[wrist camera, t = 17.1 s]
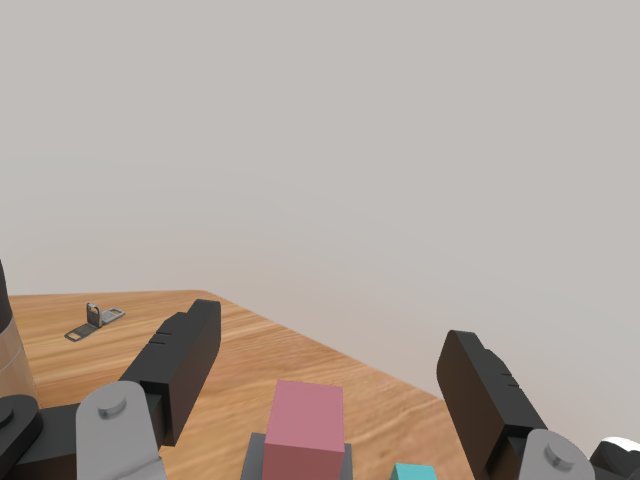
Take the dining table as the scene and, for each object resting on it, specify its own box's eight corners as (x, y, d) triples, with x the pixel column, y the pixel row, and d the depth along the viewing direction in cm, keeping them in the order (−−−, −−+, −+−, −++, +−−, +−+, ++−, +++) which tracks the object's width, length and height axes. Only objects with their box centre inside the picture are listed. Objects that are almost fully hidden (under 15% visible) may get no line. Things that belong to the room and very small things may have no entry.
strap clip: (115, 310, 57) (111, 290, 55) (127, 315, 56) (123, 295, 54) (63, 338, 50) (57, 315, 48) (76, 344, 49) (70, 322, 47)
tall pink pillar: (258, 529, 30) (264, 442, 25) (270, 459, 36) (277, 379, 31) (326, 536, 30) (344, 452, 25) (327, 465, 36) (342, 387, 31)
